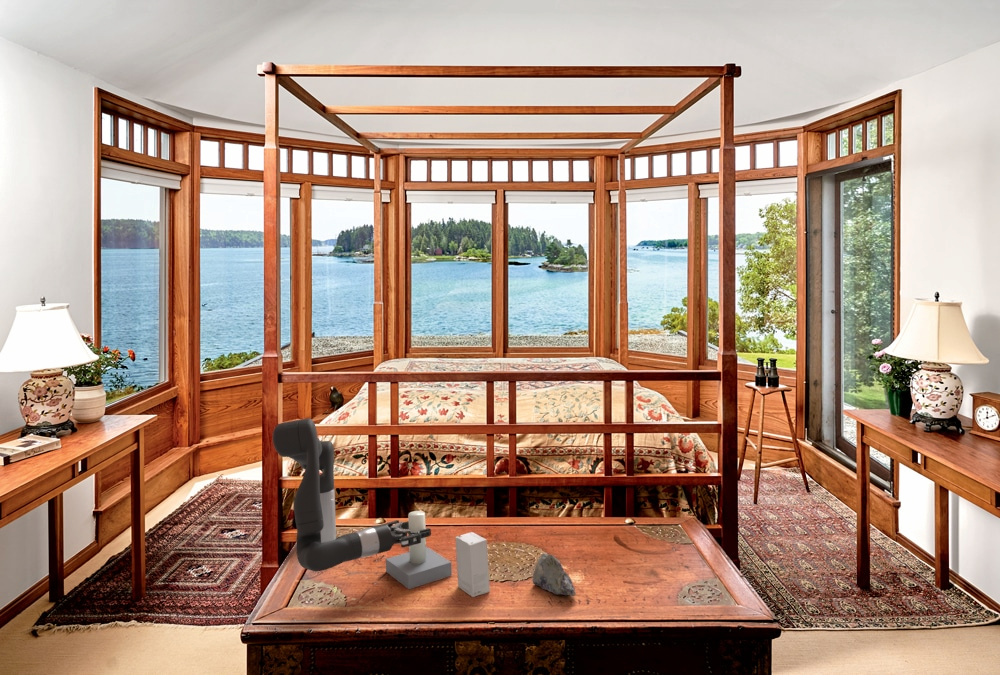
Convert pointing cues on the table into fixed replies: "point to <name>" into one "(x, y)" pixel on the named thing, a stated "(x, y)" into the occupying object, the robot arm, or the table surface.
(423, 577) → the slate plinth
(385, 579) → the table surface
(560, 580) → the mineral rock
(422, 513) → the white cylinder
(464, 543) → the skincare box
